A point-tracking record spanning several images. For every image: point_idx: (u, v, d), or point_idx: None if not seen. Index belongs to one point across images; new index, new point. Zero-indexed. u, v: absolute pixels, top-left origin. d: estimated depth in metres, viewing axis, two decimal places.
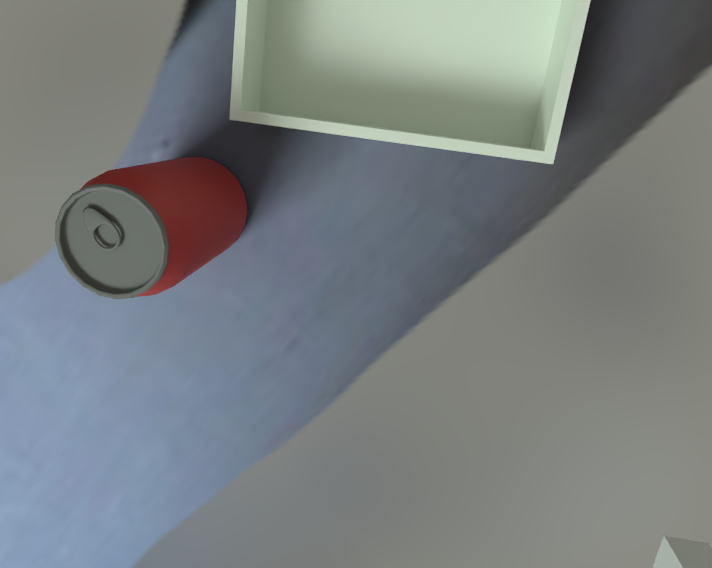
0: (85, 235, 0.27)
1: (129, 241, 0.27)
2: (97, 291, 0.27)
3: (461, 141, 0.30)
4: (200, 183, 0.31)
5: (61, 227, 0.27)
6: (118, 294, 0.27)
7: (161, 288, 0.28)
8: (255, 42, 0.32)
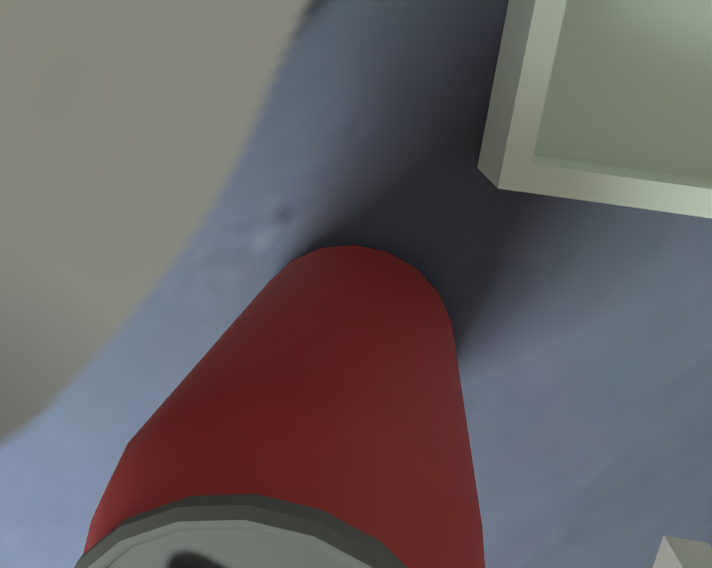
0: None
1: None
2: None
3: None
4: (432, 358, 0.12)
5: None
6: None
7: None
8: None
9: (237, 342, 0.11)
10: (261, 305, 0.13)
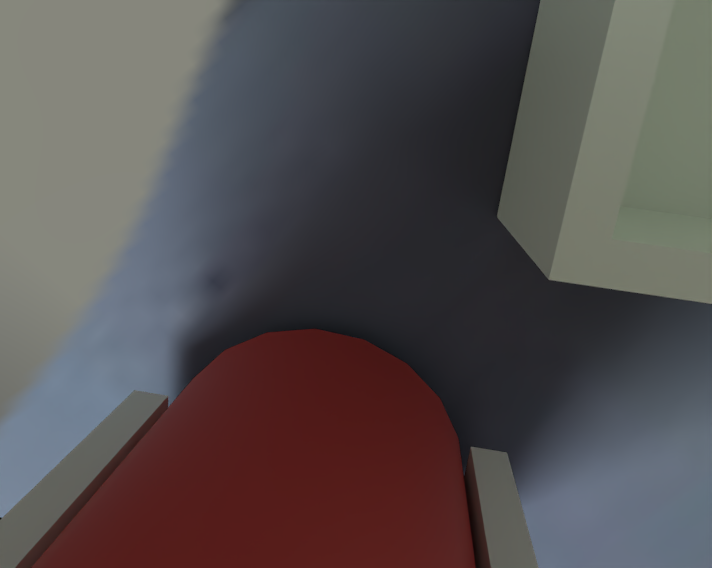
0: None
1: None
2: None
3: None
4: None
5: None
6: None
7: None
8: None
9: None
10: (134, 474, 0.08)
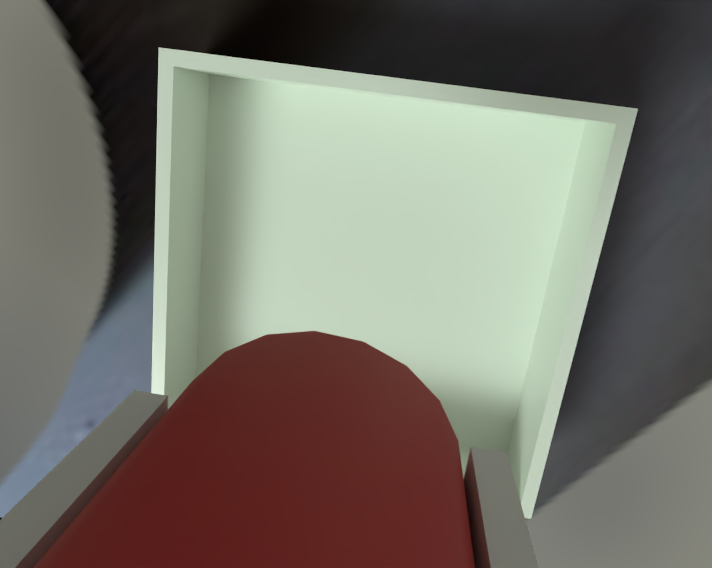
0: None
1: None
2: None
3: None
4: None
5: None
6: None
7: None
8: (182, 354, 0.27)
9: None
10: (133, 478, 0.08)
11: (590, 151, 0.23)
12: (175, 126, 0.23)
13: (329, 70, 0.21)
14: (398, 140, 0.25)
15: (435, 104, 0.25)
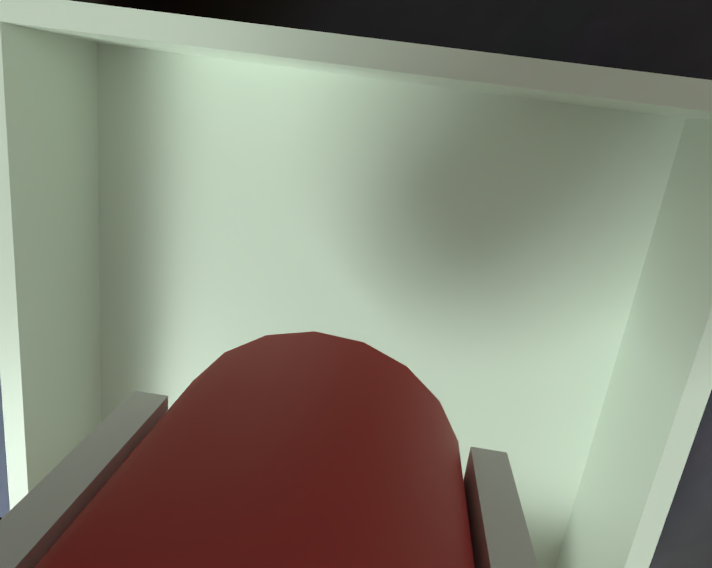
0: None
1: None
2: None
3: None
4: None
5: None
6: None
7: None
8: None
9: None
10: (133, 479, 0.08)
11: (702, 165, 0.14)
12: (16, 125, 0.14)
13: (265, 27, 0.12)
14: (389, 146, 0.16)
15: (447, 89, 0.16)
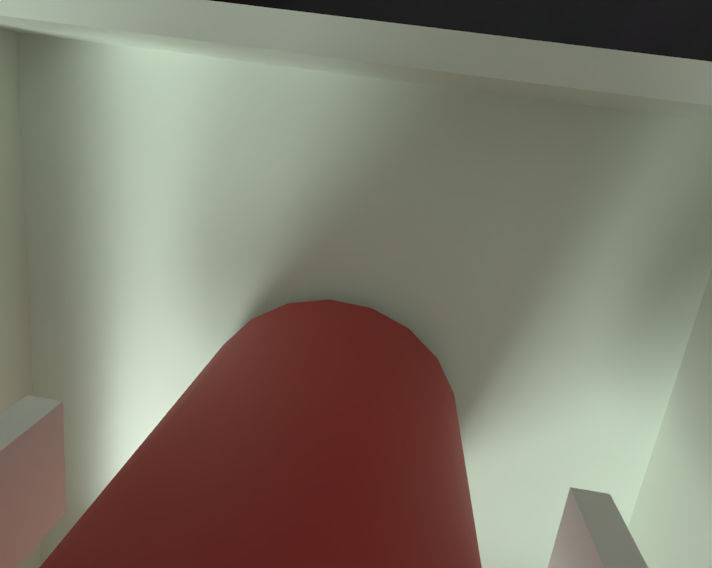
0: None
1: None
2: None
3: None
4: (433, 492, 0.08)
5: None
6: None
7: None
8: None
9: (137, 492, 0.07)
10: (193, 405, 0.09)
11: None
12: None
13: (208, 3, 0.09)
14: (381, 161, 0.13)
15: (454, 90, 0.12)
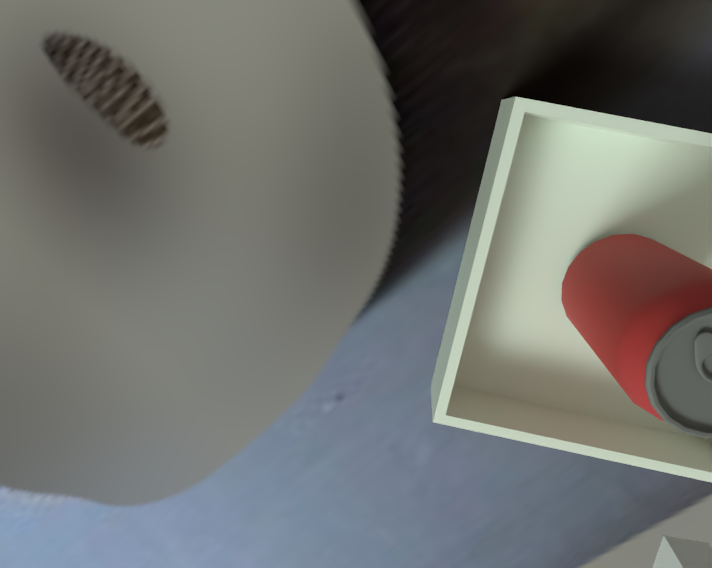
0: (683, 362, 0.22)
1: None
2: (684, 428, 0.22)
3: (662, 463, 0.31)
4: None
5: (661, 352, 0.22)
6: (710, 433, 0.22)
7: None
8: None
9: (654, 269, 0.25)
10: (630, 258, 0.27)
11: None
12: (511, 158, 0.28)
13: (654, 123, 0.27)
14: (662, 176, 0.31)
15: (698, 149, 0.30)
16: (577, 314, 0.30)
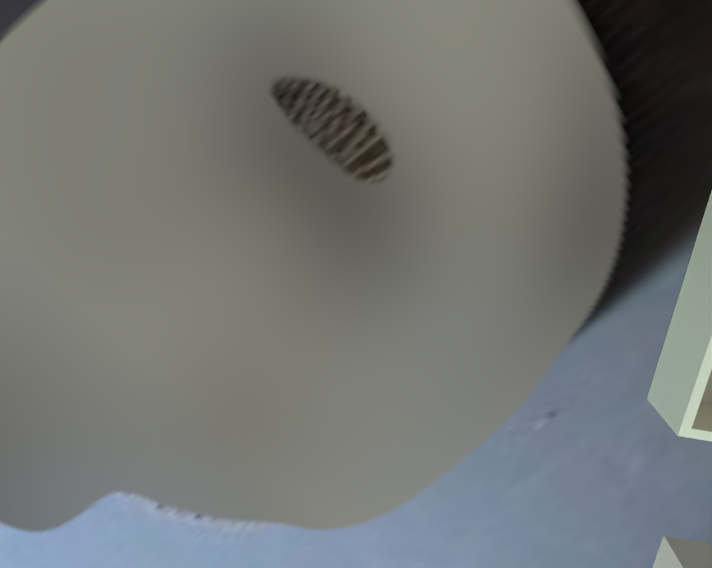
0: None
1: None
2: None
3: None
4: None
5: None
6: None
7: None
8: None
9: None
10: None
11: None
12: None
13: None
14: None
15: None
16: None
